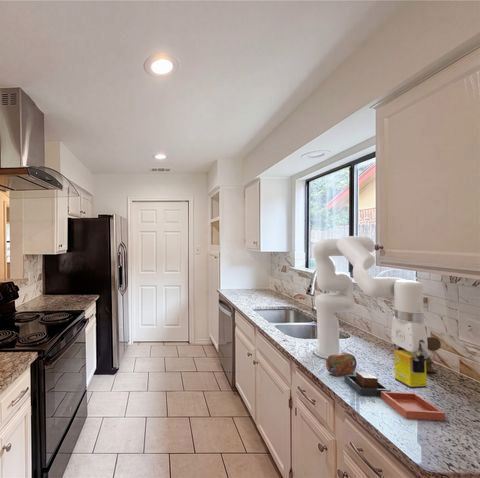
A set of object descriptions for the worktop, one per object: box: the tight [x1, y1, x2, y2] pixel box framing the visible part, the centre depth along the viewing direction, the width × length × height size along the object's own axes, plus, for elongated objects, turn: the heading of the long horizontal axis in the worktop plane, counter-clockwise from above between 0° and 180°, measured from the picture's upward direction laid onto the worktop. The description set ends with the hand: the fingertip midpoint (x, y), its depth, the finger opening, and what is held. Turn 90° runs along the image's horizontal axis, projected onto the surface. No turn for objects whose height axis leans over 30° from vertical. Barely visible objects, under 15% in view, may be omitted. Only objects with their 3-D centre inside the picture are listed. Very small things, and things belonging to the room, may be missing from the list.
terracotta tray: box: [380, 391, 446, 422], centre depth 92 cm, size 12×12×2 cm
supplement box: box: [393, 349, 428, 390], centre depth 93 cm, size 6×6×11 cm
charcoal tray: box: [343, 374, 392, 397], centre depth 105 cm, size 11×11×2 cm
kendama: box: [425, 325, 442, 373], centre depth 119 cm, size 6×10×20 cm, turn 163°
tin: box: [325, 352, 358, 377], centre depth 117 cm, size 15×3×8 cm, turn 105°
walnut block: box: [355, 371, 379, 389], centre depth 105 cm, size 5×5×5 cm
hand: (409, 366), depth 92 cm, fingers closed on supplement box, 6 cm apart
